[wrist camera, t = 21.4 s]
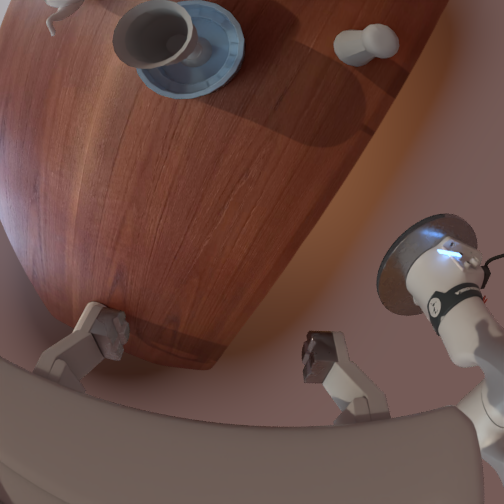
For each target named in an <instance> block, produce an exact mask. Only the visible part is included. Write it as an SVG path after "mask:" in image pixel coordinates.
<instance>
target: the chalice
mask: <svg viewBox="0 0 504 504" xmlns="http://www.w3.org/2000/svg"><path fill="white" fill-rule="evenodd" d="M113 46H114V51H115V53H116V54H117V56H118V57H119V59H120V60H121V61H123V62H124V63H126V64H127V65H128V66H132V67H135V68H138V69H152V68H156V67H160V66H163V65H166V66H168V65H172V64H177V63H179V62H181V63H182V64H183V65H185V66H188V67H199V66H202V65H203V64H205V63H206V62H207V61H208V60H209V59H210V57H211V55H212V46H211V44H210V42H209V41H208V40H206V39H205V38H203V37H198V34H197V29H196V27H195V26H194V25H193V23H192V20H191V17H190V15H189V14H188V12H187V11H186V10H185V8H183V7H182V6H180V5H179V4H177V3H175V2H172V1H168V0H151V1H147V2H144V3H141V4H139V5H137V6H135V7H134V8H132V9H131V10H129V11H128V12H127V13H126V14H125V15H124V16H123V17H122V18H121V19H120V20H119V22H118V24H117V26H116V28H115V30H114V35H113Z"/></svg>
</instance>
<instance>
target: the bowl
mask: <svg viewBox="0 0 504 504" xmlns="http://www.w3.org/2000/svg"><path fill="white" fill-rule="evenodd" d="M177 4H179V5H180V6H182V7H183V8H185V10H186V11H187V12H188V14H189V15H190V17H191V20H192V23H193V25H194V26H195V27H196V29H197V34H198V37H203V38H205V39H206V40H208V41H209V42H210V44H211V46H212V55H211V57H210V59H209V60H208V61H207V62H206V63H205V64H203V65H202V66H199V67H188V66H185V65H183V64H182V63H181V62H179V63H177V64H172V65H168V66H166V65H163V66H160V67H156V68H152V69H138V68H136V69H137V73H138V75H139V76H140V78H141V79H142V80H143V82H144V83H145V84H146V86H147V87H149V88H150V89H152V90H153V91H155V92H156V93H158V94H159V95H163V96H166V97H170V98H173V99H192V98H196V97H200V96H203V95H207V94H210V93H214V92H216V91H217V90H219V89H220V88H222V87H224V86H225V85H227V84H228V83H229V82H230V81H231V80H232V79H233V78H234V77H235V75H236V74H237V73H238V72H239V70H240V68H241V65H242V63H243V61H244V58H245V48H246V44H245V40H244V36H243V33H242V29H241V26H240V24H239V23H238V21H237V20H236V19H235V17H234V16H233V15H232V14H231V12H229V11H228V10H226V9H224V8H223V7H221V6H219V5H218V4H216V3H211V2H207V1H202V0H191V1H181V2H178V3H177Z"/></svg>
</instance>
